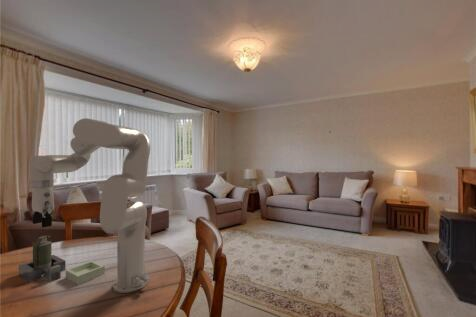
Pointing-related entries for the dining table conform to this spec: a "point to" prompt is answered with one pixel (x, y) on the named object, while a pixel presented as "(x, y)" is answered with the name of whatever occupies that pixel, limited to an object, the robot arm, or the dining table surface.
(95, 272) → the tray
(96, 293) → the dining table surface
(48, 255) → the grenade
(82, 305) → the dining table surface
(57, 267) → the grey stepped block
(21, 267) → the socket
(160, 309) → the dining table surface
